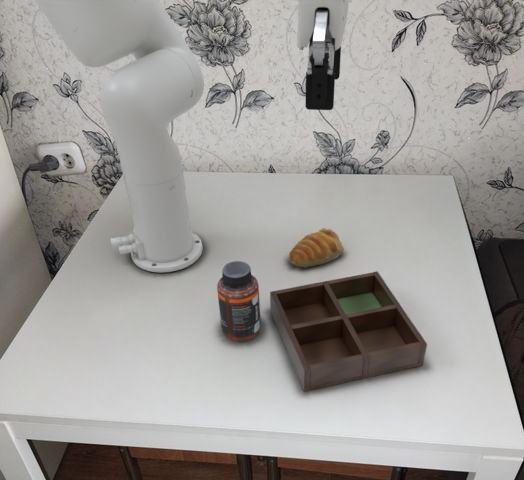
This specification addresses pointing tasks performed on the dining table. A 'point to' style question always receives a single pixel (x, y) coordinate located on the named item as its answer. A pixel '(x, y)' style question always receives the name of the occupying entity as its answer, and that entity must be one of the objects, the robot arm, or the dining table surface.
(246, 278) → the supplement bottle
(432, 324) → the dining table surface
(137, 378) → the dining table surface
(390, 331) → the grid
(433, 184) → the dining table surface
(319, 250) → the pastry
